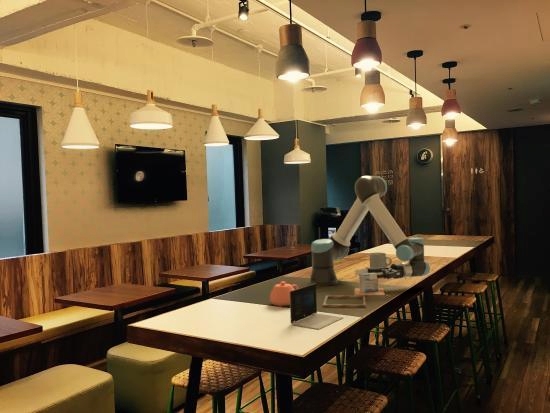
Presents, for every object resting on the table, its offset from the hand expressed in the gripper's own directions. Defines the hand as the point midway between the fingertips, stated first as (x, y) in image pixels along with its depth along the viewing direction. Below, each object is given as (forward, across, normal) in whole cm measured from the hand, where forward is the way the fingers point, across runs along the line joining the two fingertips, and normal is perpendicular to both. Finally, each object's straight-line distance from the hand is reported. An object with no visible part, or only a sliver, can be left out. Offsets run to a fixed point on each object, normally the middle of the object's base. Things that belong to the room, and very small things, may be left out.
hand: (362, 274), depth 221 cm
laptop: (+40, -35, -10) cm, 54 cm away
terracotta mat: (-3, 0, -9) cm, 9 cm away
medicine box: (-3, 0, -9) cm, 9 cm away
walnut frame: (+17, -13, -9) cm, 23 cm away
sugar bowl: (+41, -3, -9) cm, 42 cm away
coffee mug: (-43, +53, -9) cm, 69 cm away
